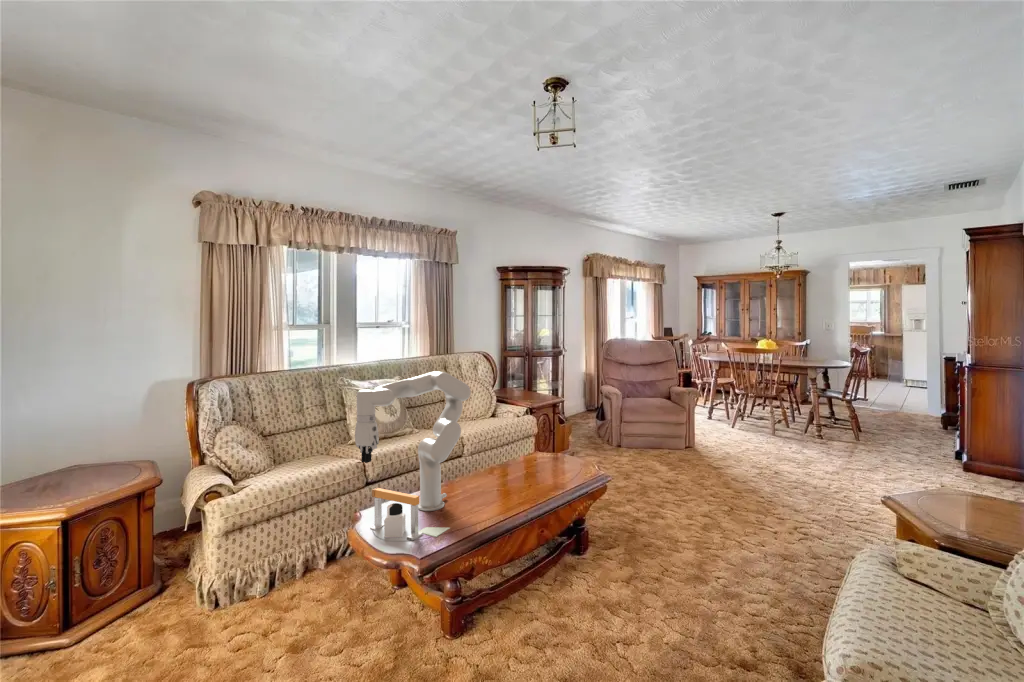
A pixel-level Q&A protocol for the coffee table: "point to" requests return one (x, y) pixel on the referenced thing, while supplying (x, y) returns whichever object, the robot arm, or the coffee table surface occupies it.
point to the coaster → (433, 531)
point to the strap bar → (395, 496)
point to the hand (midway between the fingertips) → (366, 461)
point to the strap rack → (414, 519)
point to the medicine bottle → (394, 521)
